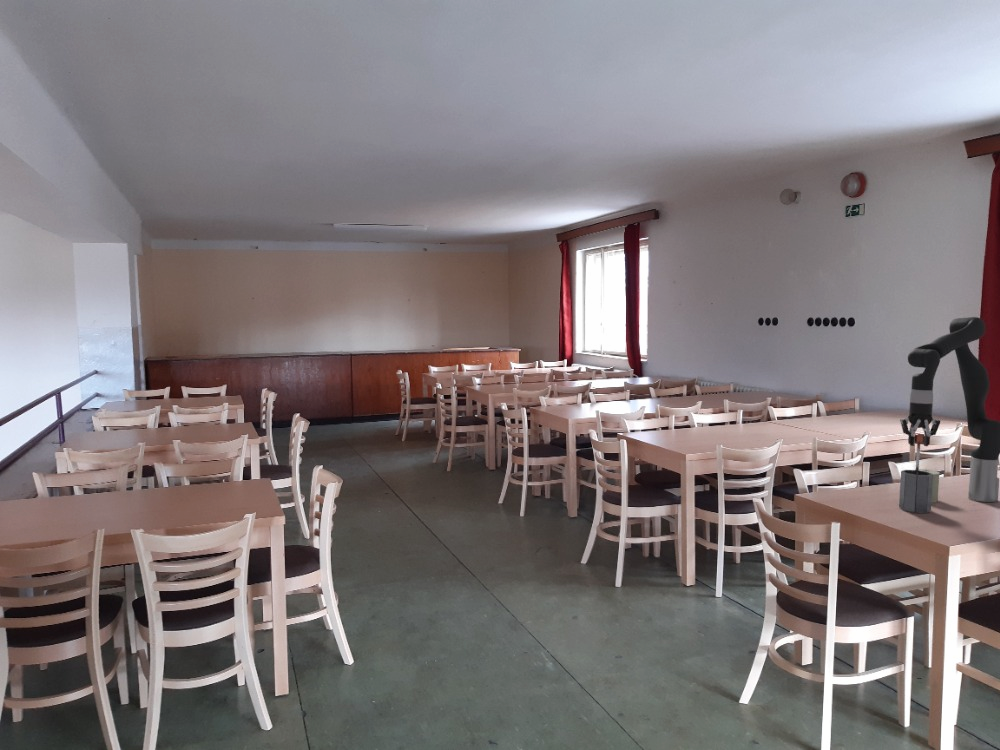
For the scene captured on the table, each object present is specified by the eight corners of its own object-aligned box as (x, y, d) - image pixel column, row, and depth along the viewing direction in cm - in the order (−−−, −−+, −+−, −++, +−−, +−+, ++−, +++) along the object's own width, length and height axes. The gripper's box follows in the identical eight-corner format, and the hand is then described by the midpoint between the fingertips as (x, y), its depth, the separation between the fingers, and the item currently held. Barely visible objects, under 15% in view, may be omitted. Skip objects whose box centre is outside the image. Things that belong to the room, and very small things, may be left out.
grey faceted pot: (920, 505, 285) (922, 469, 283) (934, 513, 273) (937, 476, 271) (893, 504, 286) (895, 468, 285) (906, 512, 274) (908, 475, 272)
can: (936, 498, 296) (938, 469, 295) (939, 503, 287) (941, 473, 286) (910, 495, 300) (912, 467, 299) (913, 500, 291) (914, 471, 290)
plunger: (922, 482, 280) (925, 432, 278) (930, 487, 273) (933, 436, 271) (902, 481, 281) (905, 432, 279) (910, 486, 274) (913, 435, 272)
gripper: (936, 400, 277) (933, 444, 279) (897, 399, 279) (894, 443, 280) (946, 403, 270) (943, 448, 271) (905, 402, 271) (903, 447, 273)
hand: (918, 445), depth 276 cm, fingers open, 4 cm apart
